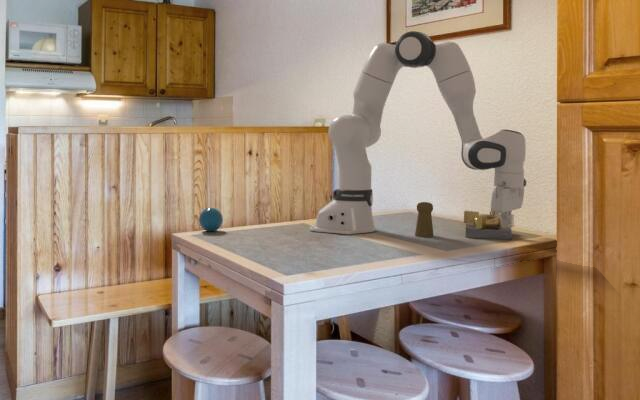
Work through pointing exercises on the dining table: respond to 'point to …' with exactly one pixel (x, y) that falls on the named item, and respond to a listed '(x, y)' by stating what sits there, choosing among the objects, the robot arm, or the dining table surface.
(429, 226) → the cork
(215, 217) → the ball
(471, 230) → the housing
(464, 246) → the dining table surface
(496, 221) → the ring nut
